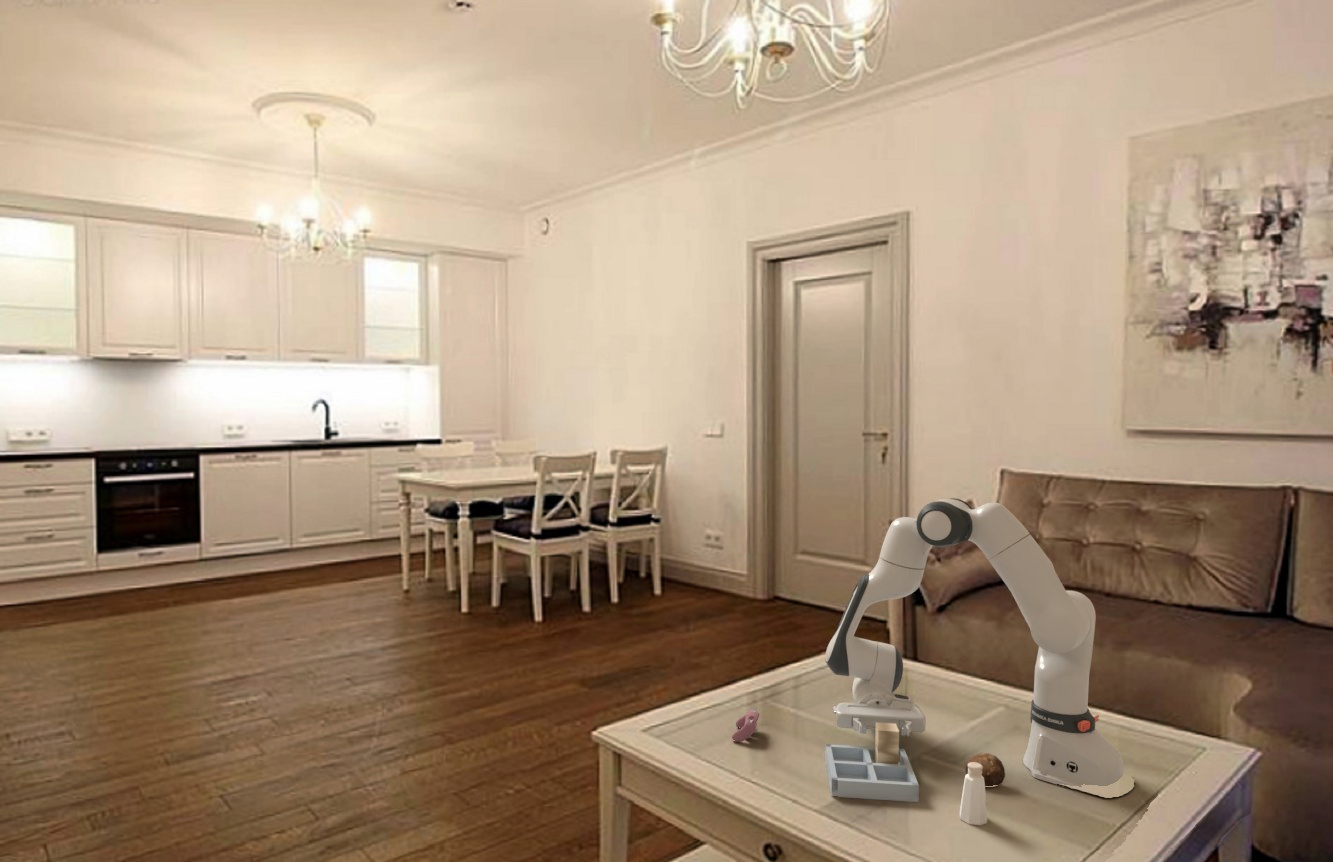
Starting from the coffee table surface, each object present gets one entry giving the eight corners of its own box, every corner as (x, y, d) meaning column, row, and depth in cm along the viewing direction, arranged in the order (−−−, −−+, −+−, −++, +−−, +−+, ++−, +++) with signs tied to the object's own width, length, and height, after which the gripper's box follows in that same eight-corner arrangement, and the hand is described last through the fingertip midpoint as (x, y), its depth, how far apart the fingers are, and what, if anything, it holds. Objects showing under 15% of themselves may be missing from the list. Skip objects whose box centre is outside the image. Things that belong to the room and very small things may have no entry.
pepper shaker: (978, 810, 173) (980, 757, 172) (993, 824, 167) (995, 770, 167) (953, 812, 172) (955, 759, 171) (967, 826, 167) (969, 771, 166)
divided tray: (903, 764, 193) (904, 748, 193) (918, 802, 176) (919, 785, 176) (824, 759, 195) (825, 744, 195) (831, 796, 178) (831, 780, 178)
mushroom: (975, 754, 192) (980, 739, 188) (1008, 777, 187) (1014, 763, 183) (956, 779, 188) (960, 765, 184) (989, 803, 183) (995, 789, 179)
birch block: (894, 763, 191) (895, 723, 191) (897, 772, 187) (899, 731, 186) (874, 761, 192) (875, 722, 191) (877, 770, 187) (878, 730, 187)
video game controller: (747, 750, 203) (760, 726, 202) (730, 740, 203) (743, 716, 202) (750, 734, 212) (764, 710, 211) (734, 724, 213) (747, 700, 212)
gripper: (832, 692, 206) (837, 715, 193) (919, 697, 204) (931, 720, 191) (831, 718, 207) (836, 742, 193) (918, 723, 205) (930, 748, 191)
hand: (884, 731), depth 192 cm, fingers open, 8 cm apart
